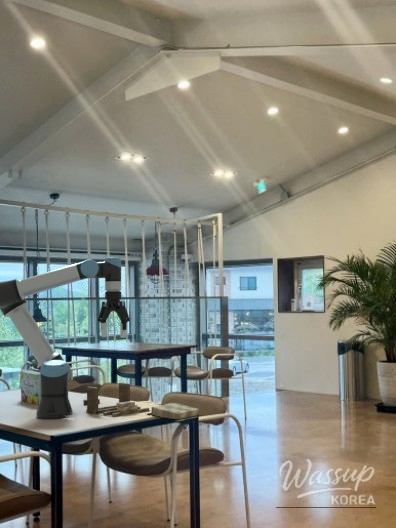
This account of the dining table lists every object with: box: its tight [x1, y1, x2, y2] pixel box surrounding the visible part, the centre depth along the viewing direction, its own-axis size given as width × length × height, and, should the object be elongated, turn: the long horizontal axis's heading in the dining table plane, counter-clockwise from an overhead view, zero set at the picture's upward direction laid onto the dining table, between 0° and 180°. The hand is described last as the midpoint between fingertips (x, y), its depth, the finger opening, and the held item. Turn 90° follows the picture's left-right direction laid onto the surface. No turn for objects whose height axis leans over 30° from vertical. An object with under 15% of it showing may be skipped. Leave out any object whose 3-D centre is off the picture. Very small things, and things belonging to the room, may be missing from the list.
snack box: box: [20, 369, 41, 406], centre depth 327 cm, size 21×6×15 cm, turn 37°
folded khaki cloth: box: [150, 402, 201, 422], centre depth 280 cm, size 14×3×15 cm
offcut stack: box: [115, 400, 139, 413], centre depth 282 cm, size 9×4×4 cm, turn 137°
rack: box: [84, 382, 151, 418], centre depth 286 cm, size 22×19×12 cm
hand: (113, 337), depth 301 cm, fingers open, 13 cm apart
